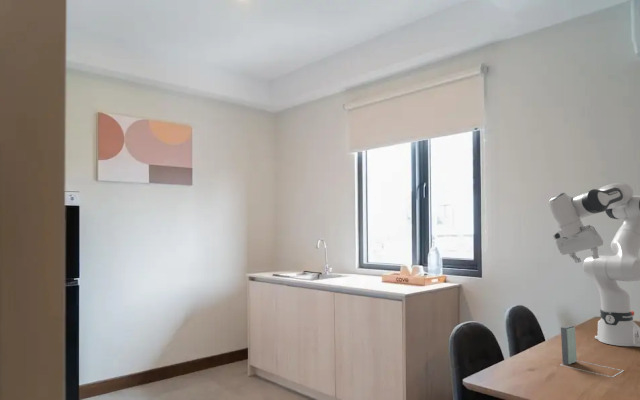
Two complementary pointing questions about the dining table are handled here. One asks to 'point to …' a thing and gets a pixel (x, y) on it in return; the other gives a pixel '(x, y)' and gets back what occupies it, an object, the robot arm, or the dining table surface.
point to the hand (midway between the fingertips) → (587, 260)
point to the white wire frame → (596, 373)
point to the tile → (568, 344)
